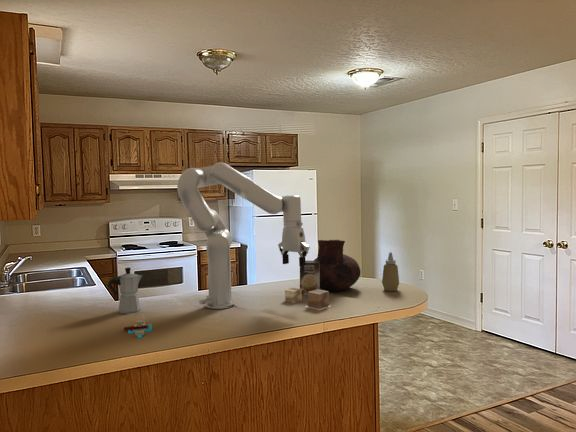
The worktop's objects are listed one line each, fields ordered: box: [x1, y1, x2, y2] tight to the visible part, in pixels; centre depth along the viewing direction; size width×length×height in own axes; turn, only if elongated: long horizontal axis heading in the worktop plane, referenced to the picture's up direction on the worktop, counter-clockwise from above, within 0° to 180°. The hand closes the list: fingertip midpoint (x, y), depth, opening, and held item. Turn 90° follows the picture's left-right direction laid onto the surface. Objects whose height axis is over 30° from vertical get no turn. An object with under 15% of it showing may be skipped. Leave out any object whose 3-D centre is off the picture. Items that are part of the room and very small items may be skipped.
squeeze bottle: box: [381, 251, 400, 292], centre depth 219 cm, size 8×8×18 cm
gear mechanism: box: [123, 315, 153, 340], centre depth 166 cm, size 20×5×9 cm
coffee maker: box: [107, 267, 143, 315], centre depth 190 cm, size 15×9×18 cm, turn 135°
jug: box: [313, 239, 361, 292], centre depth 224 cm, size 25×25×25 cm
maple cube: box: [284, 287, 303, 304], centre depth 198 cm, size 5×5×5 cm
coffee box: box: [299, 260, 321, 296], centre depth 210 cm, size 9×6×16 cm
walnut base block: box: [307, 289, 330, 310], centre depth 188 cm, size 6×6×6 cm
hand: (294, 264), depth 197 cm, fingers open, 9 cm apart
